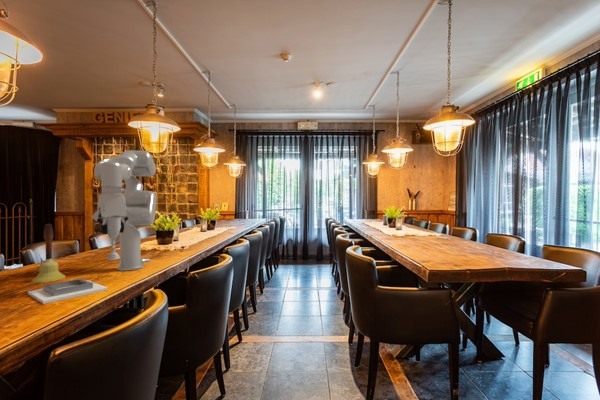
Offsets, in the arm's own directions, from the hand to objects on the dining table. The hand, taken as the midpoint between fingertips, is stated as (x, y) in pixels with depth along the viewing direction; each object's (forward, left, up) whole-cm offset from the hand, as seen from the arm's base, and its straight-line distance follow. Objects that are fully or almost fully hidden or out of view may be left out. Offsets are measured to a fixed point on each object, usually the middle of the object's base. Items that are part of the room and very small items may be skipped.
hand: (112, 232), depth 134 cm
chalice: (0, 0, -11) cm, 11 cm away
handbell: (+14, -32, -22) cm, 41 cm away
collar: (+16, 0, -21) cm, 27 cm away
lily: (+12, -49, -22) cm, 55 cm away
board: (+16, 0, -21) cm, 27 cm away
